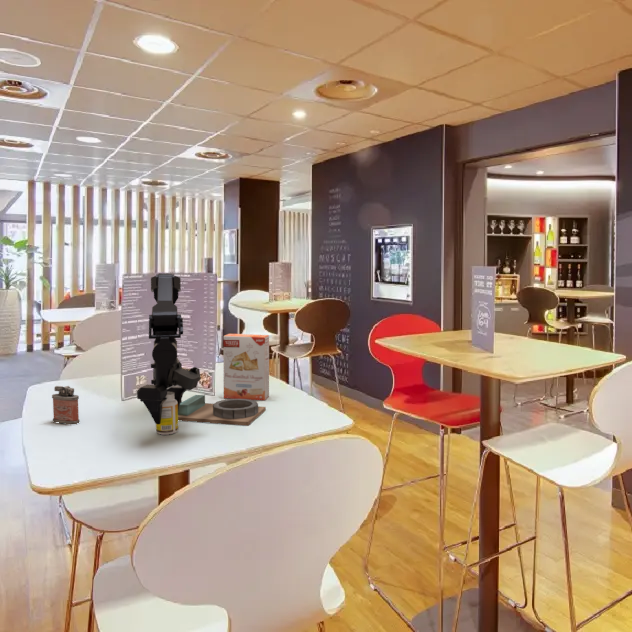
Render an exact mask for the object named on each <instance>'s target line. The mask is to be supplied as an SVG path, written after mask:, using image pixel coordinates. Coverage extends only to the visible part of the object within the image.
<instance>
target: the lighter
mask: <svg viewBox="0 0 632 632" xmlns="http://www.w3.org/2000/svg"><path fill="white" fill-rule="evenodd" d="M53 390H54V392H58V393H53V394H52V395H51V398H52V408H53V409H52V411H53V413H52V414H53V418H52V422H53V421H54V422H59V423H66V424H76V425H78V424H77V423H79V422H80V419H79V418H80V416H79V395H77V394H75V388H73V387H71V386H70V385H66V386H63V385H62V386H61V385H56V386H54V389H53ZM54 422H53V423H54ZM66 424H65V425H66ZM79 424H80V423H79Z"/></svg>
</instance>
